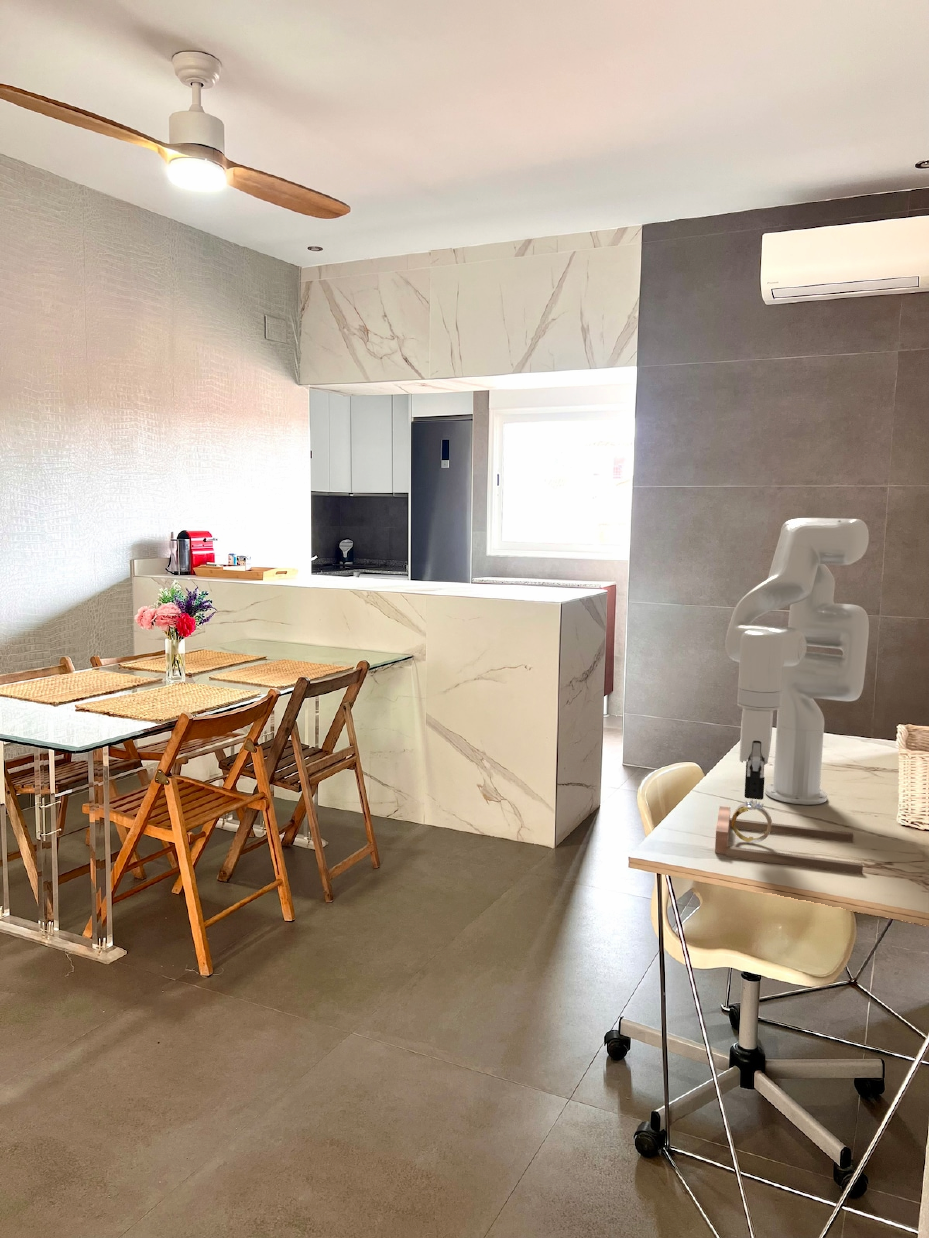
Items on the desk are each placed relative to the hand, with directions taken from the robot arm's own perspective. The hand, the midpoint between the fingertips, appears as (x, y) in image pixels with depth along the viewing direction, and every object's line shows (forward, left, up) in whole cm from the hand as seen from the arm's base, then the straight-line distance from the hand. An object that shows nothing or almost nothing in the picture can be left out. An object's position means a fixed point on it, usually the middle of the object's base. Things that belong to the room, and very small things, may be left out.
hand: (753, 790), depth 162 cm
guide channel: (0, +6, -10) cm, 12 cm away
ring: (0, 0, -10) cm, 10 cm away
